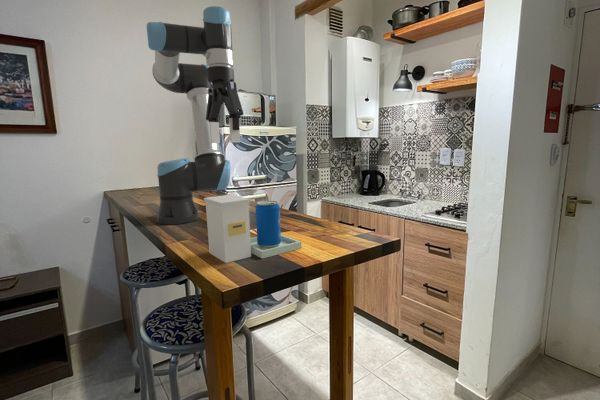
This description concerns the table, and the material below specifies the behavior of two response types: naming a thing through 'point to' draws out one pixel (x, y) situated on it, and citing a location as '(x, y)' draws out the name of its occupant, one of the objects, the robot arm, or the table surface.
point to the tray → (284, 246)
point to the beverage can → (268, 224)
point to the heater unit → (228, 227)
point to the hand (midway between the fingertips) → (224, 143)
